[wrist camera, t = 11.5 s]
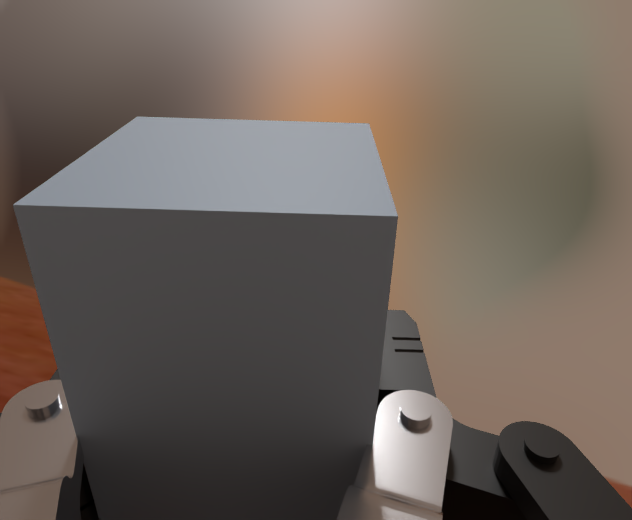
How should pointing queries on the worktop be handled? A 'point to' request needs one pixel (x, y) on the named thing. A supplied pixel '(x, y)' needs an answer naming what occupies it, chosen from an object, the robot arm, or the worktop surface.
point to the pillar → (218, 313)
